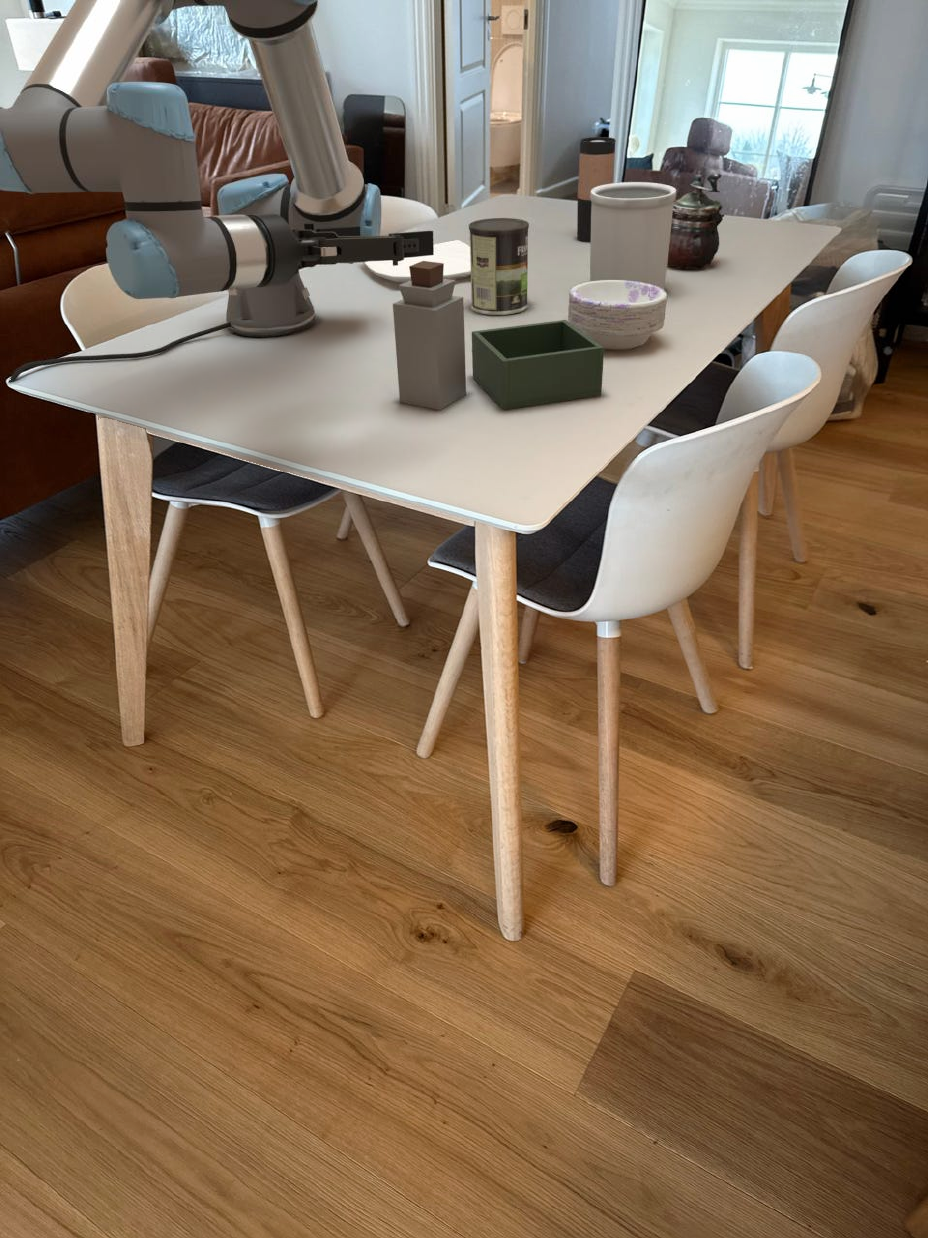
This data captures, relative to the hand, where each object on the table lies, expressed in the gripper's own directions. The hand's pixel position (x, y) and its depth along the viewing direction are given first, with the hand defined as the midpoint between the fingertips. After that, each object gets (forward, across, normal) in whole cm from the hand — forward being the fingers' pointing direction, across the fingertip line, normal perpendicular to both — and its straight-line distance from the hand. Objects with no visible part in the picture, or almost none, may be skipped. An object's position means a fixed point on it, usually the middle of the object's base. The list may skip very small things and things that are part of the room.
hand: (393, 239), depth 113 cm
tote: (+19, +8, -20) cm, 29 cm away
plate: (+55, -51, -11) cm, 75 cm away
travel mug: (+97, -41, -7) cm, 105 cm away
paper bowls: (+42, +5, -17) cm, 46 cm away
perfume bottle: (+7, 0, -21) cm, 22 cm away
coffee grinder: (+89, -10, -11) cm, 90 cm away
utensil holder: (+66, -10, -13) cm, 69 cm away
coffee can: (+45, -22, -15) cm, 52 cm away
